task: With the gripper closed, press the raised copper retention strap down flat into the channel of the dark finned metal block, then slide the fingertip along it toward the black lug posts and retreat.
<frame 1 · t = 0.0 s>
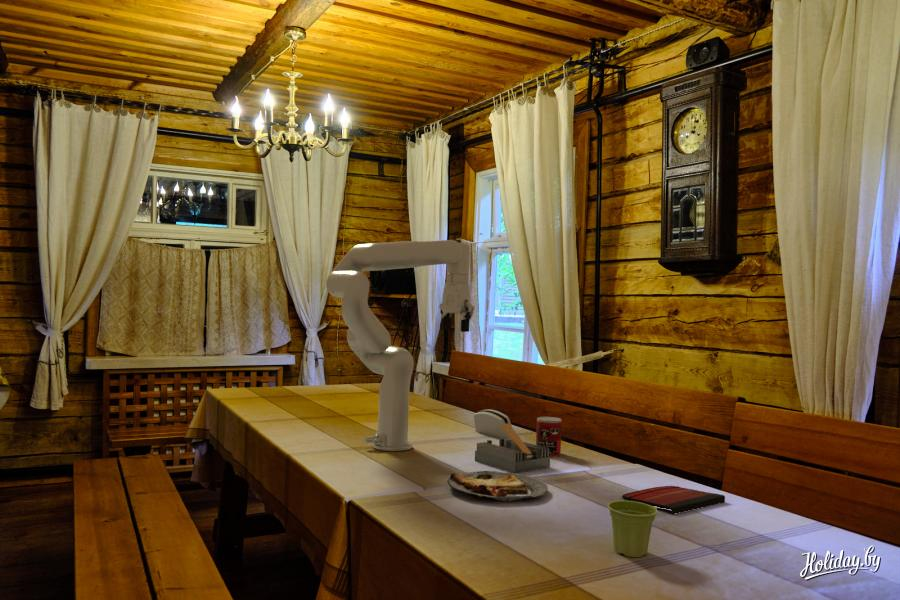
hand: (455, 330, 237), 37 cm above the table, tool pointing down, fingers open, 9 cm apart
plant pot: (630, 553, 136), on the table
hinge: (493, 435, 249), on the table
canned food: (548, 454, 221), on the table
binder: (671, 503, 174), on the table
strap: (516, 439, 204), point 7 cm above the table, hinge at 35.0°
heatsink: (511, 464, 205), on the table
food plate: (496, 492, 177), on the table
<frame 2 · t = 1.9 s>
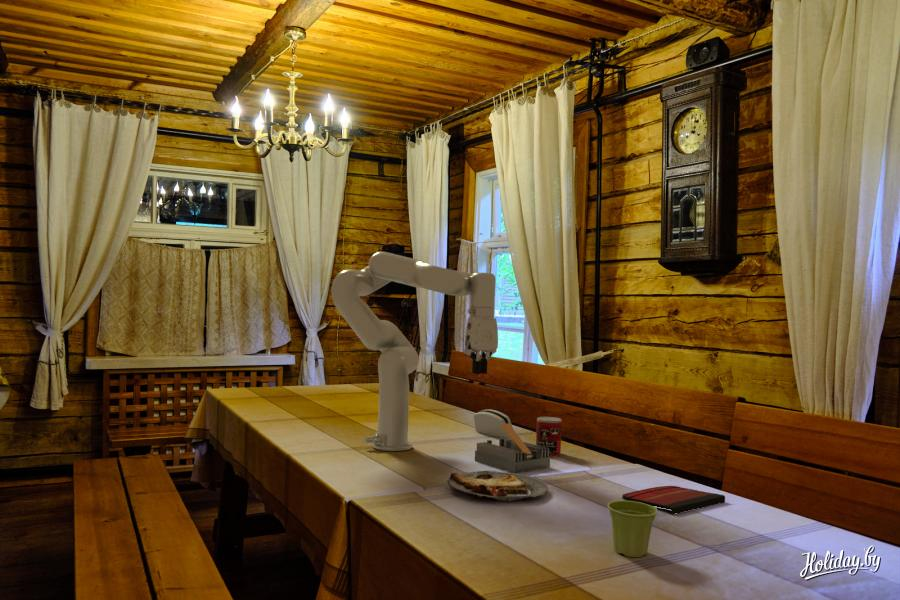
hand: (479, 373, 215), 25 cm above the table, tool pointing down, fingers closed
nothing on the table moved.
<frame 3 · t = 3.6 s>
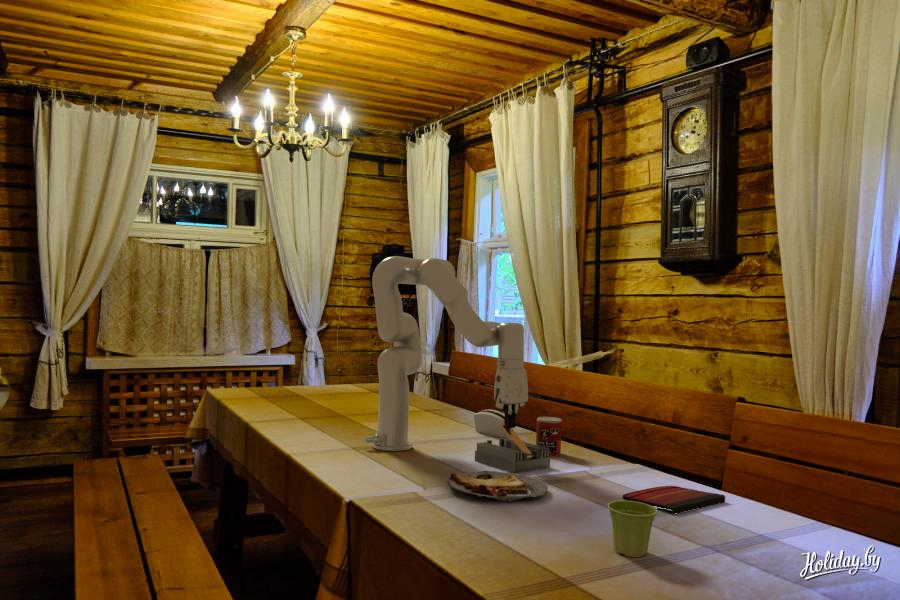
hand: (510, 426, 207), 11 cm above the table, tool pointing down, fingers closed
strap: (515, 439, 204), point 7 cm above the table, hinge at 33.9°, touching gripper
everything else where it was.
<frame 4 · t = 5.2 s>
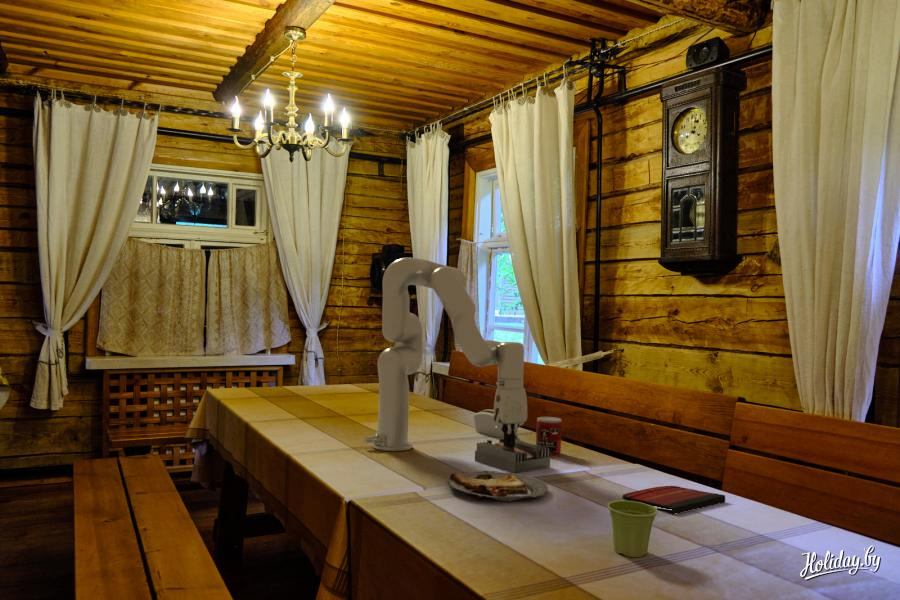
hand: (509, 446, 207), 5 cm above the table, tool pointing down, fingers closed
strap: (512, 449, 205), point 4 cm above the table, hinge at 5.8°, touching gripper
everything else where it was.
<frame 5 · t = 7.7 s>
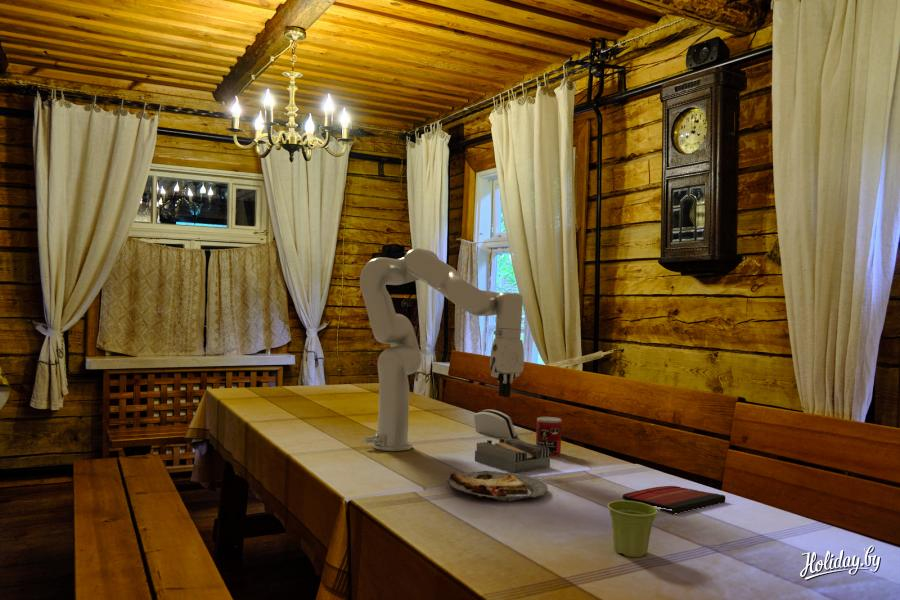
hand: (504, 396, 208), 19 cm above the table, tool pointing down, fingers closed
strap: (512, 449, 205), point 4 cm above the table, hinge at 5.7°
everything else where it was.
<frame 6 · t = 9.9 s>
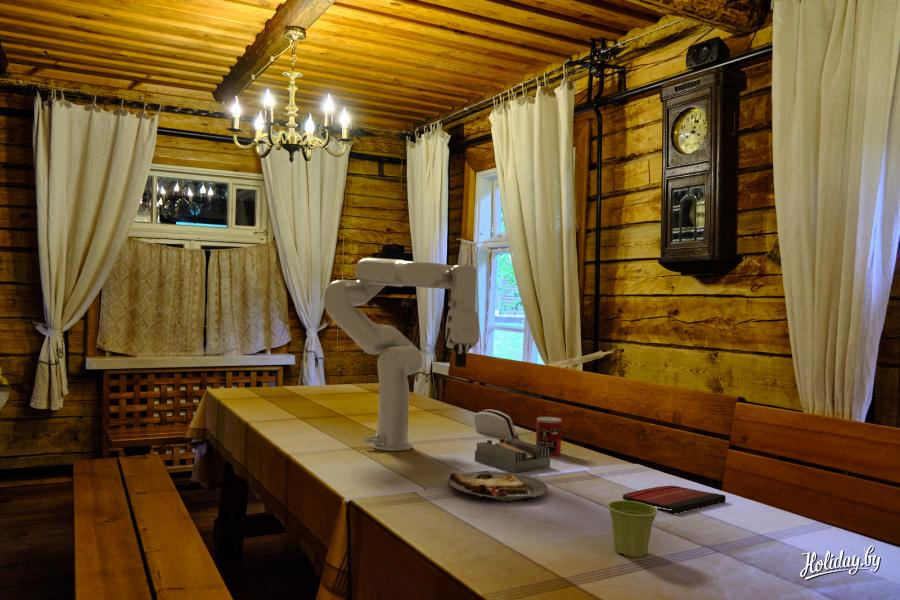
hand: (460, 366, 212), 27 cm above the table, tool pointing down, fingers closed
nothing on the table moved.
at the end: strap at +6° (first picture: +35°); strap touching nothing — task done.
